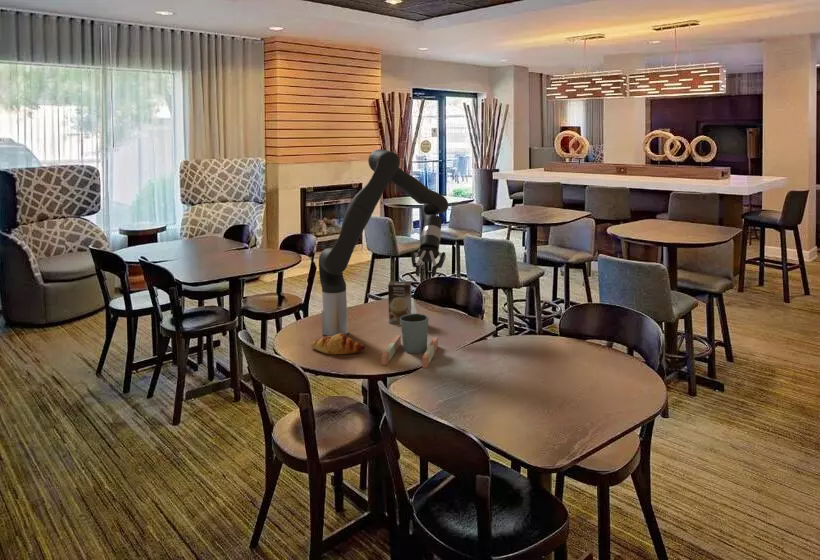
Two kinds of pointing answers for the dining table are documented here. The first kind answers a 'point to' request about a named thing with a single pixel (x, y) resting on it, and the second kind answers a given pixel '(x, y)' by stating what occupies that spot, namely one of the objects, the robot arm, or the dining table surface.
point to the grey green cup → (414, 332)
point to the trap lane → (397, 342)
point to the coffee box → (399, 300)
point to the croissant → (337, 345)
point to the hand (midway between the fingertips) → (425, 275)
